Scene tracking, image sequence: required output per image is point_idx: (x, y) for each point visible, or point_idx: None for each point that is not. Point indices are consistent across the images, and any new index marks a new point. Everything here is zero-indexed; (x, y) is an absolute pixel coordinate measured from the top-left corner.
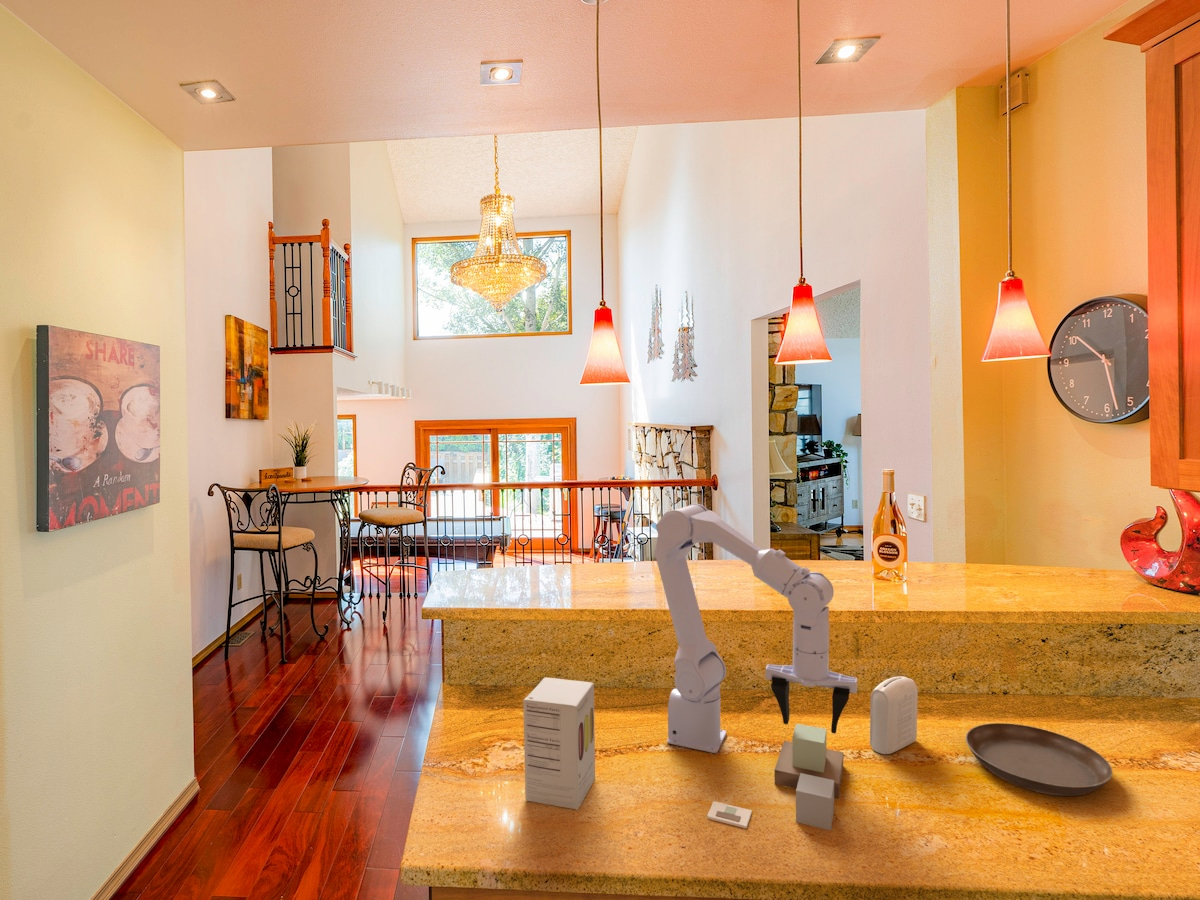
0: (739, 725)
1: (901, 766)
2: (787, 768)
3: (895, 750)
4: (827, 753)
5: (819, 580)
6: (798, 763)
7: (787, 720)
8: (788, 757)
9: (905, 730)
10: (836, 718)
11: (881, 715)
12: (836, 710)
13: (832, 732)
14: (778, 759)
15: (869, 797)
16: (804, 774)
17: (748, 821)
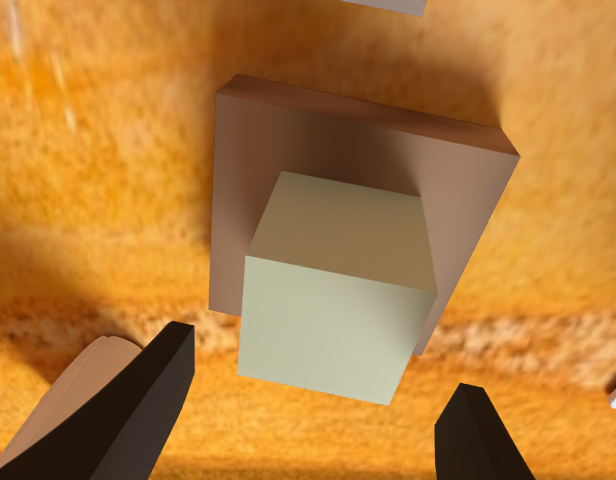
0: (537, 431)
1: (63, 291)
2: (448, 177)
3: (84, 349)
4: None
5: None
6: (394, 202)
7: (467, 406)
8: None
9: (36, 407)
10: (103, 404)
11: None
12: (52, 473)
13: (186, 326)
14: (476, 239)
15: (125, 109)
16: (396, 2)
17: None
